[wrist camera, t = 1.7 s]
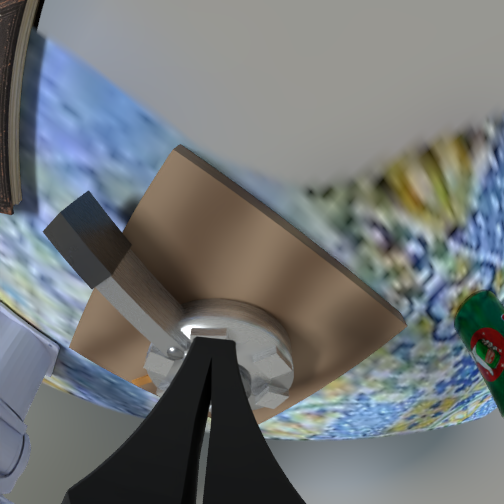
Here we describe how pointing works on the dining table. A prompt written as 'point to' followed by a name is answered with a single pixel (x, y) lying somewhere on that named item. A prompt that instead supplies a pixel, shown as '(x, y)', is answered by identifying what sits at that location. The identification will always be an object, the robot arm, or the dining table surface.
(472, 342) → the soda can
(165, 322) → the silver mechanical part
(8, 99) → the hardcover book
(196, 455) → the robot arm
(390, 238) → the dining table surface
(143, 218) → the walnut board
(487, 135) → the dining table surface
